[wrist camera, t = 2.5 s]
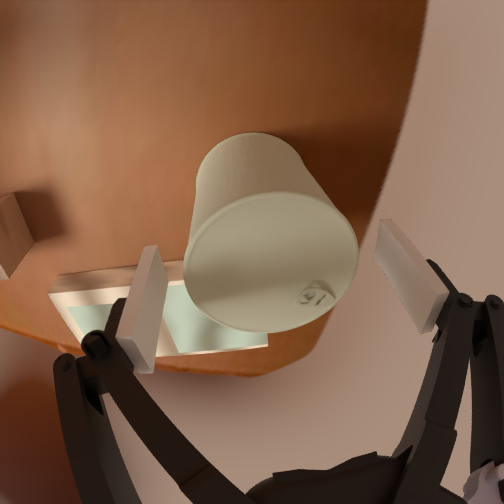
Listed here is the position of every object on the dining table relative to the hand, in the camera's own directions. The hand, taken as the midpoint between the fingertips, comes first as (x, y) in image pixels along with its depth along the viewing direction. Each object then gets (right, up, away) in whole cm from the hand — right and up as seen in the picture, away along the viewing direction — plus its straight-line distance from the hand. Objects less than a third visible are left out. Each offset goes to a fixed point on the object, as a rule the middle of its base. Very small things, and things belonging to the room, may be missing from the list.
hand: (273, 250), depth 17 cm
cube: (-27, +3, +6) cm, 28 cm away
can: (-1, +6, +8) cm, 9 cm away
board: (-11, -6, +14) cm, 19 cm away
